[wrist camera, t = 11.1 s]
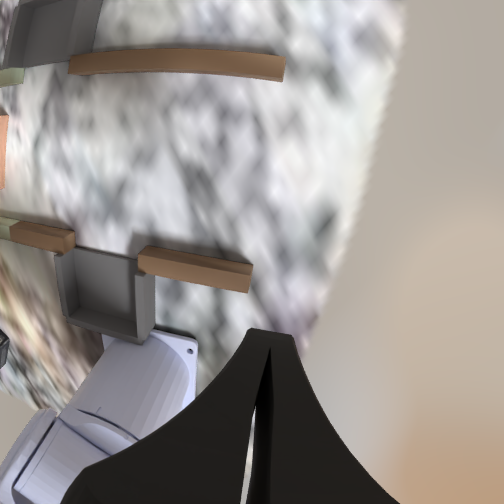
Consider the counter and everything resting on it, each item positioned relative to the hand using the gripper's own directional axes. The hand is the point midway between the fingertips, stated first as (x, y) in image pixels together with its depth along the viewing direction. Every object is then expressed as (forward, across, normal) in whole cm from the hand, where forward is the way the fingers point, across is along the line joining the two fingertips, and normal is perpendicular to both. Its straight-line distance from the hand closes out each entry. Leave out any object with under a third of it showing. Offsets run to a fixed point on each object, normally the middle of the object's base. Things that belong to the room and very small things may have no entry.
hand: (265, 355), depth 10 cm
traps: (+10, +14, -4) cm, 18 cm away
